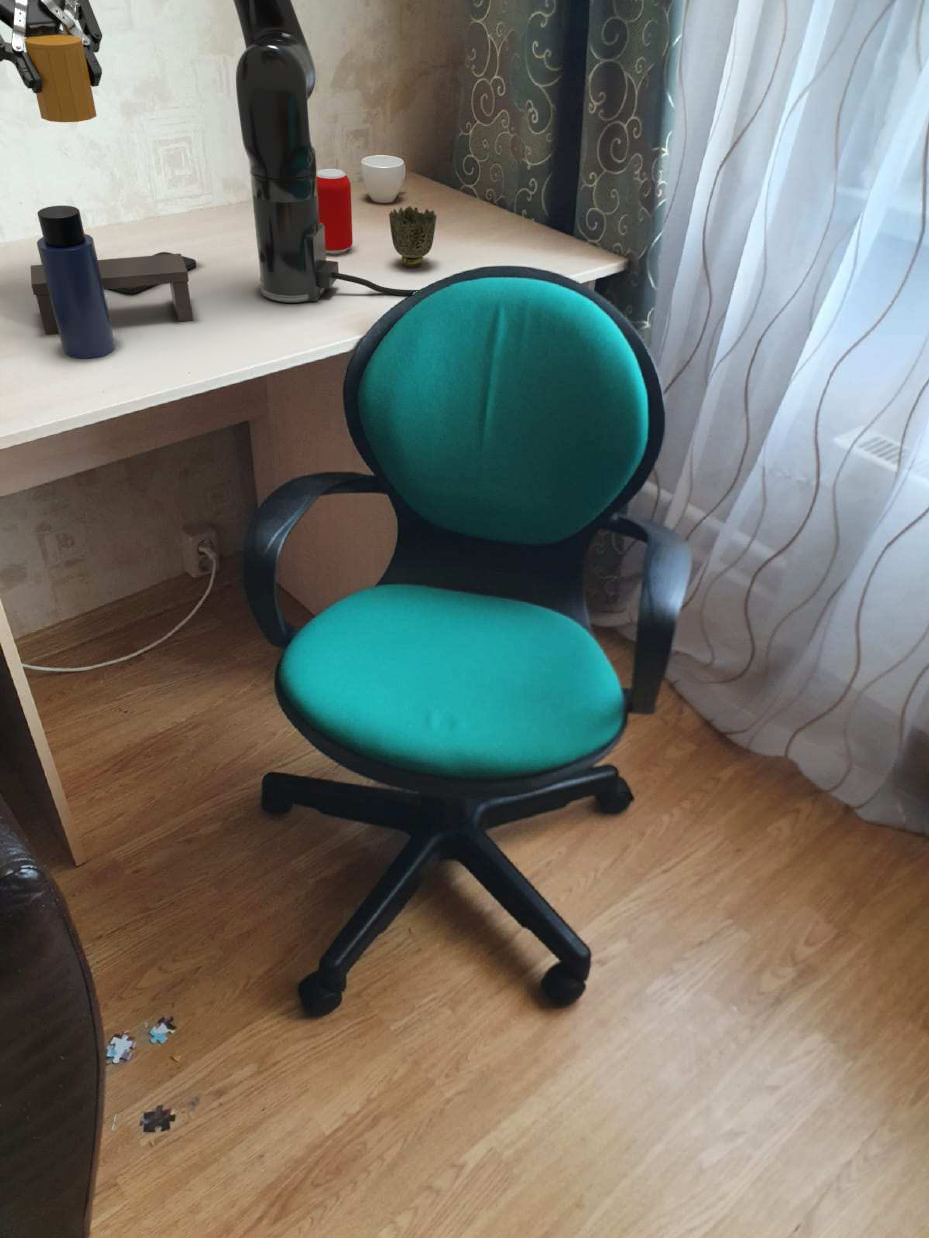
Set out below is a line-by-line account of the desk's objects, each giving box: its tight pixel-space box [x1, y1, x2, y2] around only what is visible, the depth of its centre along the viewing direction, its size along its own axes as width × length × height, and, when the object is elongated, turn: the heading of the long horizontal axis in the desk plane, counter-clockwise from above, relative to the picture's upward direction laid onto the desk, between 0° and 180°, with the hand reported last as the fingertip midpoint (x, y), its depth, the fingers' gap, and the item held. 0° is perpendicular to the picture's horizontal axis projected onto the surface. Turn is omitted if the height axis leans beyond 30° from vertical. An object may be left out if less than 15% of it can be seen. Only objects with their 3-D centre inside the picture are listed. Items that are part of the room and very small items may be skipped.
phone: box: [112, 251, 197, 294], centre depth 146 cm, size 7×1×15 cm
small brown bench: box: [30, 253, 194, 336], centre depth 132 cm, size 20×7×7 cm, turn 110°
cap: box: [24, 34, 98, 123], centre depth 113 cm, size 6×6×8 cm
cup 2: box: [388, 205, 437, 268], centre depth 152 cm, size 8×7×8 cm
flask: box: [36, 205, 116, 360], centre depth 121 cm, size 7×7×18 cm
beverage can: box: [317, 168, 354, 255], centre depth 154 cm, size 6×6×12 cm
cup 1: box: [360, 154, 407, 204], centre depth 177 cm, size 8×10×7 cm
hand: (68, 85), depth 112 cm, fingers closed on cap, 6 cm apart
